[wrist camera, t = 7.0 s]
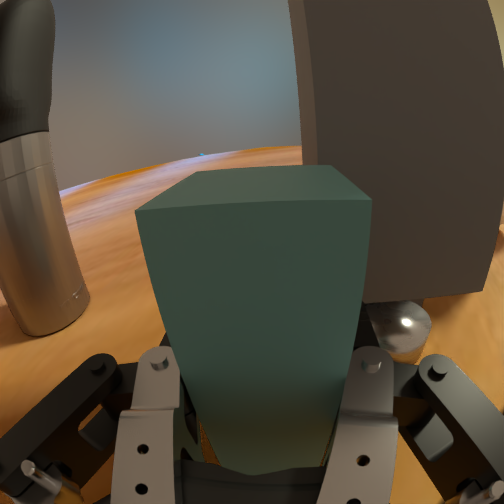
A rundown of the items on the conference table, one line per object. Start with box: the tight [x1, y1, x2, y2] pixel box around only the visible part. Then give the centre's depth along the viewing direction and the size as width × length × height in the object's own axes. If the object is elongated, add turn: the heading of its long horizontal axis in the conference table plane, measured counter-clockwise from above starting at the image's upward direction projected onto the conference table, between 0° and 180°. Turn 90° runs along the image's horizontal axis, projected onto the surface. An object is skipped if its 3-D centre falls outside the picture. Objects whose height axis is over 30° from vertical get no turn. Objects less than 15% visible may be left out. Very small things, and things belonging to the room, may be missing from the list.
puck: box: [366, 300, 431, 365], centre depth 17 cm, size 5×5×2 cm
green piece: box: [135, 165, 372, 475], centre depth 12 cm, size 4×12×12 cm, turn 174°
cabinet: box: [288, 0, 504, 307], centre depth 13 cm, size 10×8×25 cm
